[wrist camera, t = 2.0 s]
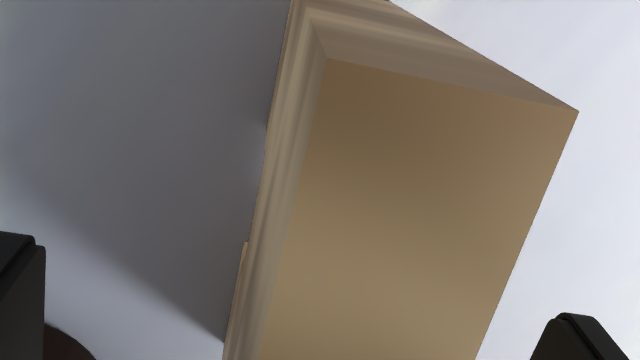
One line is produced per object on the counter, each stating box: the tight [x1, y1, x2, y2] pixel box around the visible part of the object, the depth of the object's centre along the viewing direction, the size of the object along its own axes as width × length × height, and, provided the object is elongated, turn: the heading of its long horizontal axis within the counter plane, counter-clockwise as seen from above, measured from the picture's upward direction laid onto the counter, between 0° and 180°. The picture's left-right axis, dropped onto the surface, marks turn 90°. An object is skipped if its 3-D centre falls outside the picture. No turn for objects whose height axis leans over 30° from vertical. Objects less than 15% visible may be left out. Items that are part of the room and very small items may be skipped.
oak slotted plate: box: [222, 0, 579, 360], centre depth 12 cm, size 12×3×10 cm, turn 167°
